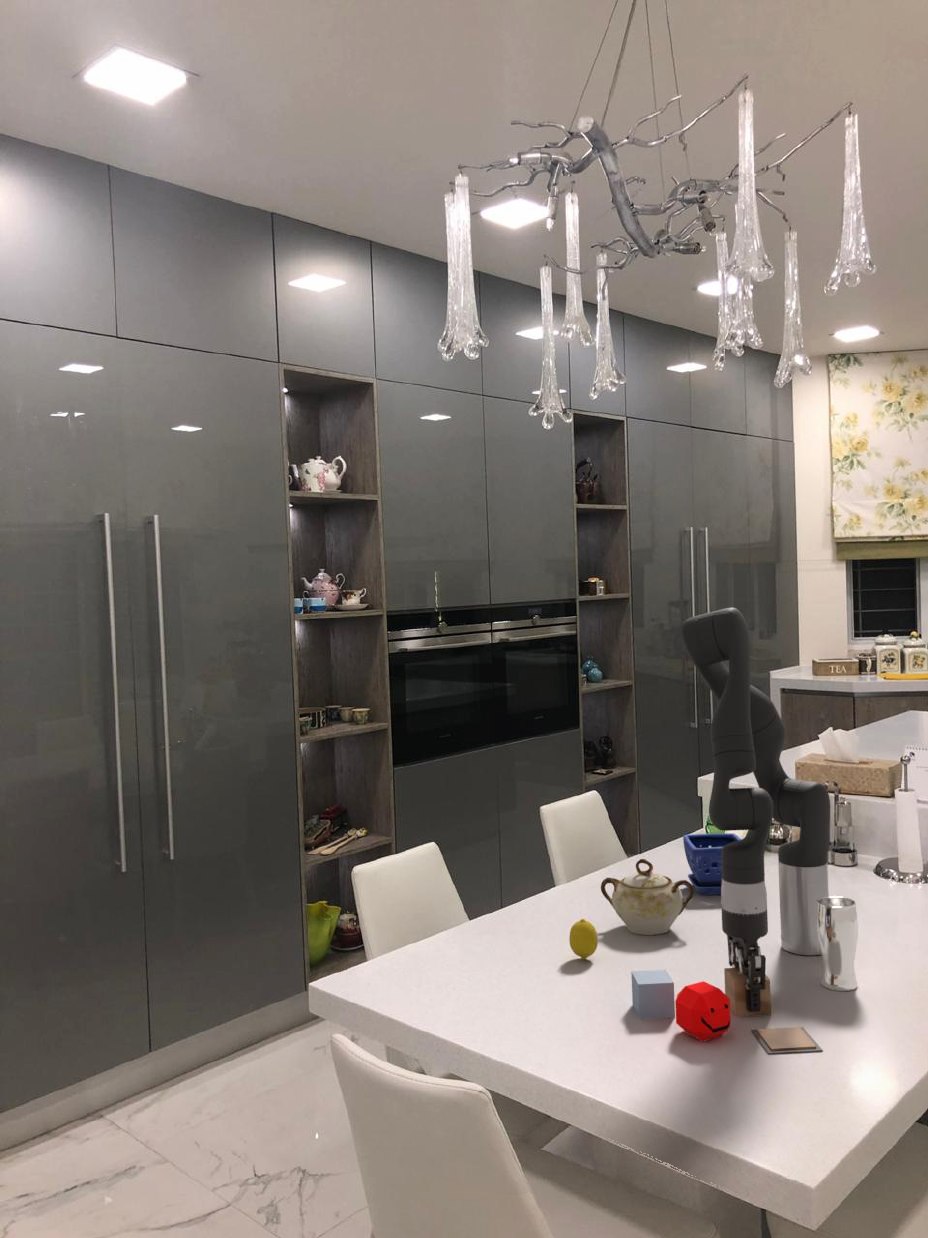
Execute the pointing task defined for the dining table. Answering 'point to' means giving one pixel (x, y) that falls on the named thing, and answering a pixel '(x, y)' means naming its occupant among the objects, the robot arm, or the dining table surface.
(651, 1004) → the slate cube
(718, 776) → the robot arm
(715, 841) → the flower pot
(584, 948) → the lemon
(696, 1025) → the ball
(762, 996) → the walnut cube
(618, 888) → the sugar bowl
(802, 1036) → the walnut swatch
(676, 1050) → the dining table surface
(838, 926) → the beer glass
